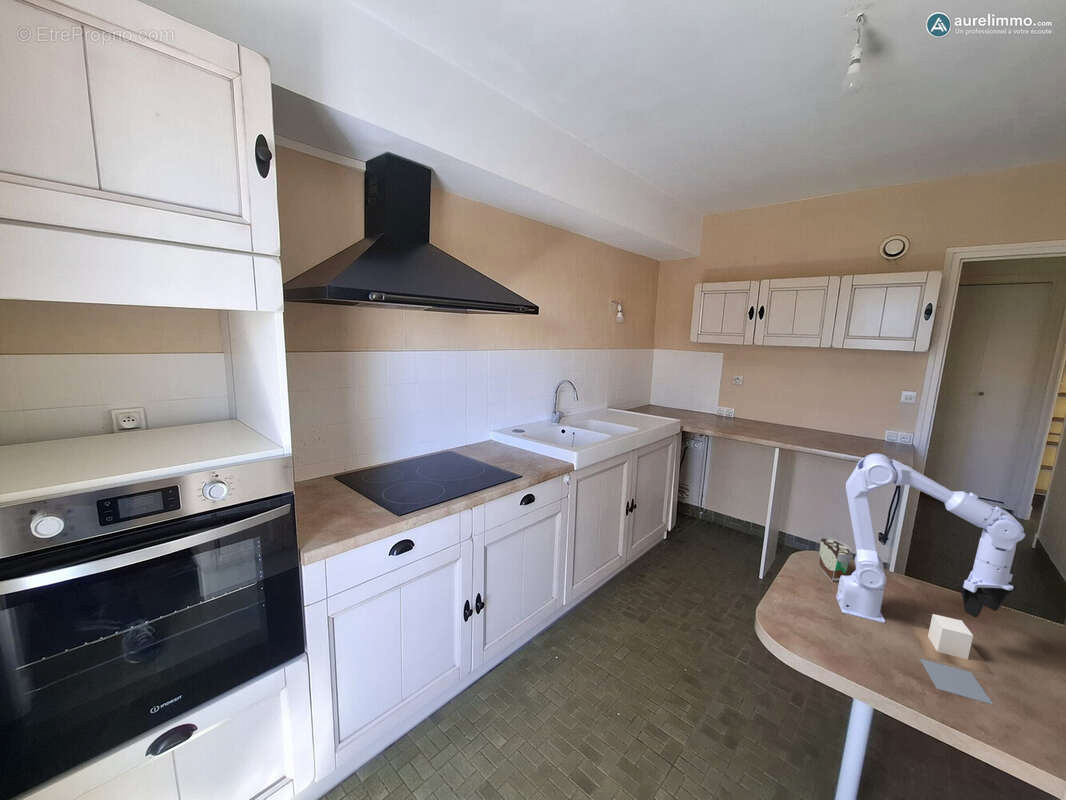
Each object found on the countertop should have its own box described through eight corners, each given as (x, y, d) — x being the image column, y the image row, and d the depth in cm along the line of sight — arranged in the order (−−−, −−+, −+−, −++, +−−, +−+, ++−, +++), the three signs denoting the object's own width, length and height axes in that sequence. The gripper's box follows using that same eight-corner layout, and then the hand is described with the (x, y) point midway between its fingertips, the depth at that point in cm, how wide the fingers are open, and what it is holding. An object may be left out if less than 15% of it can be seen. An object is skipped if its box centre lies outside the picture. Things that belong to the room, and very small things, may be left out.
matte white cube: (937, 651, 101) (942, 628, 100) (927, 636, 106) (932, 613, 105) (967, 659, 99) (973, 635, 98) (956, 643, 104) (961, 620, 103)
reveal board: (925, 657, 100) (925, 656, 100) (906, 625, 110) (906, 624, 110) (993, 675, 95) (994, 674, 95) (967, 639, 105) (967, 638, 105)
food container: (857, 588, 126) (862, 557, 124) (834, 585, 127) (839, 555, 125) (836, 565, 138) (841, 537, 136) (816, 562, 139) (820, 535, 137)
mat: (936, 689, 91) (937, 688, 91) (920, 659, 99) (920, 658, 99) (992, 705, 87) (993, 704, 87) (970, 673, 95) (971, 672, 95)
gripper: (997, 575, 93) (983, 628, 96) (1035, 565, 98) (1021, 616, 100) (957, 558, 100) (946, 608, 102) (994, 549, 104) (982, 597, 107)
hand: (980, 611), depth 102 cm, fingers open, 7 cm apart
